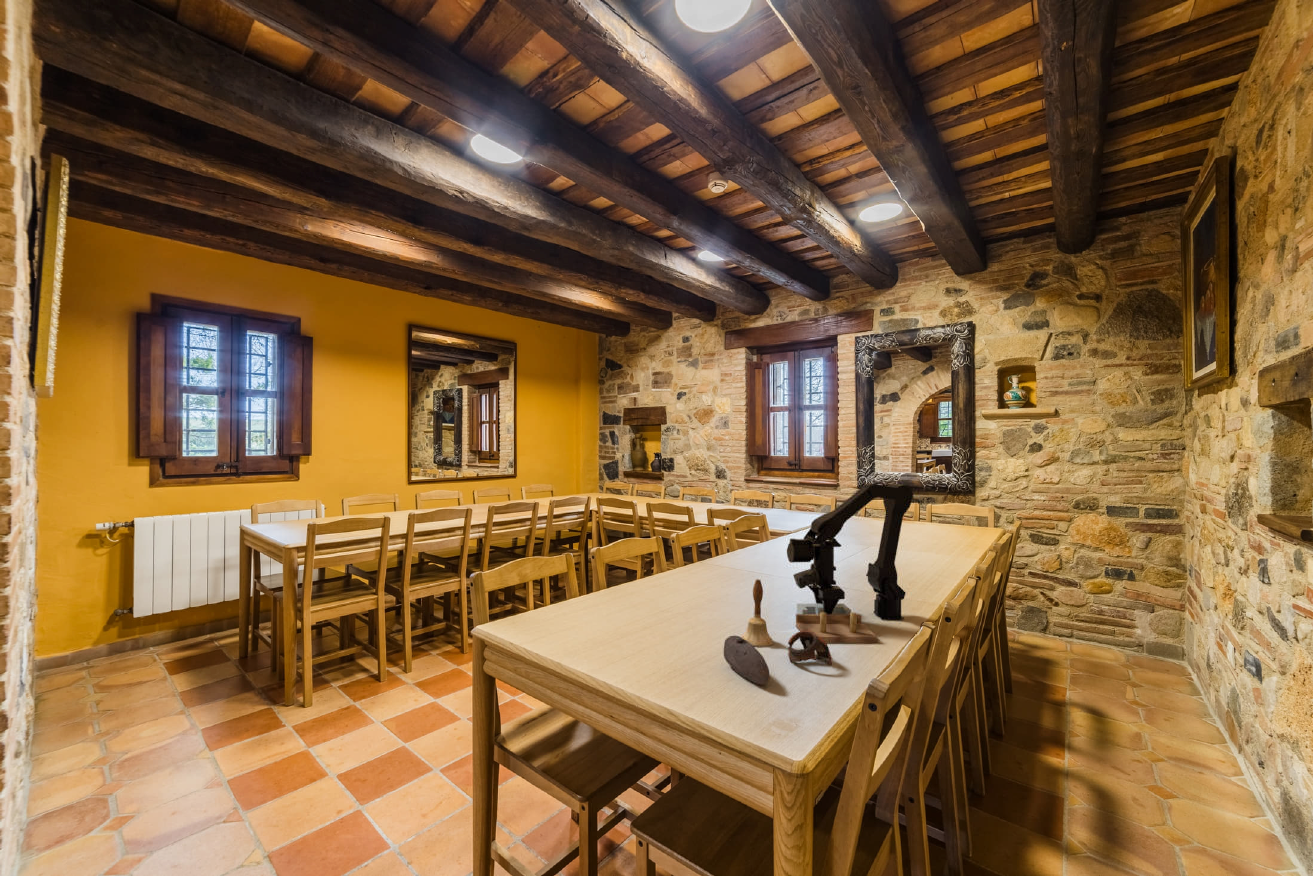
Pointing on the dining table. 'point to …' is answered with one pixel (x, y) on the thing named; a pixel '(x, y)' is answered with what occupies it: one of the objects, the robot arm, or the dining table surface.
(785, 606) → the dining table surface
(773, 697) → the dining table surface
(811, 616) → the board
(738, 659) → the perforated stone tool
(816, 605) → the grey notched panel
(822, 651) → the brown curved piece
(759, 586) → the hand bell
